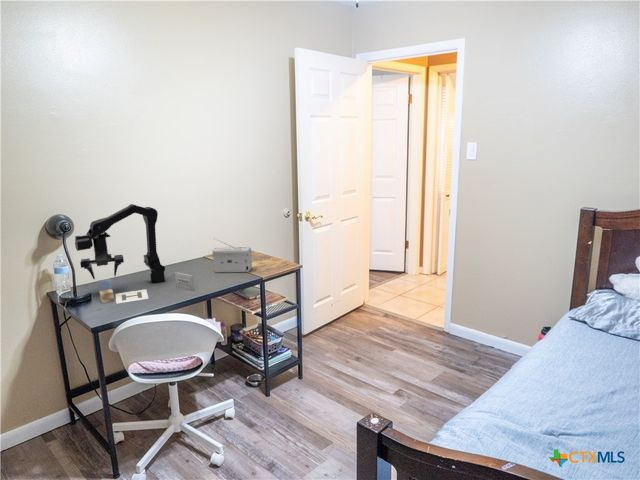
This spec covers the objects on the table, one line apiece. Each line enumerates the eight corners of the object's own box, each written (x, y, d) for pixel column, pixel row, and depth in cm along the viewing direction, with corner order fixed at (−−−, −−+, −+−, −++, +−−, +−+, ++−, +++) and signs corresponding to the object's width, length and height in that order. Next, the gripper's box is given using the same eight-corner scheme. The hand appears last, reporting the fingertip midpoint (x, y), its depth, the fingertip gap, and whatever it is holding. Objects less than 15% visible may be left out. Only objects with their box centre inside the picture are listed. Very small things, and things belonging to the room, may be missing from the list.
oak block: (112, 298, 212) (111, 289, 211) (114, 302, 208) (113, 292, 207) (100, 301, 209) (99, 291, 208) (102, 304, 205) (101, 294, 204)
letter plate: (146, 290, 223) (146, 289, 223) (148, 299, 210) (148, 298, 210) (115, 294, 217) (115, 293, 217) (116, 304, 205) (116, 303, 204)
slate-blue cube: (113, 290, 224) (111, 278, 222) (113, 294, 218) (111, 282, 217) (99, 292, 221) (98, 280, 220) (99, 296, 216) (98, 284, 214)
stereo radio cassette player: (252, 268, 256) (250, 234, 251) (250, 273, 248) (248, 238, 243) (216, 269, 256) (213, 235, 251) (212, 273, 248) (210, 238, 243)
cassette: (195, 289, 223) (193, 275, 221) (192, 291, 221) (191, 276, 219) (178, 286, 229) (176, 271, 227) (175, 287, 227) (174, 272, 225)
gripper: (77, 253, 203) (82, 285, 207) (122, 248, 211) (126, 279, 215) (78, 247, 213) (83, 278, 217) (121, 243, 221) (125, 273, 224)
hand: (104, 277), depth 218 cm, fingers open, 9 cm apart
